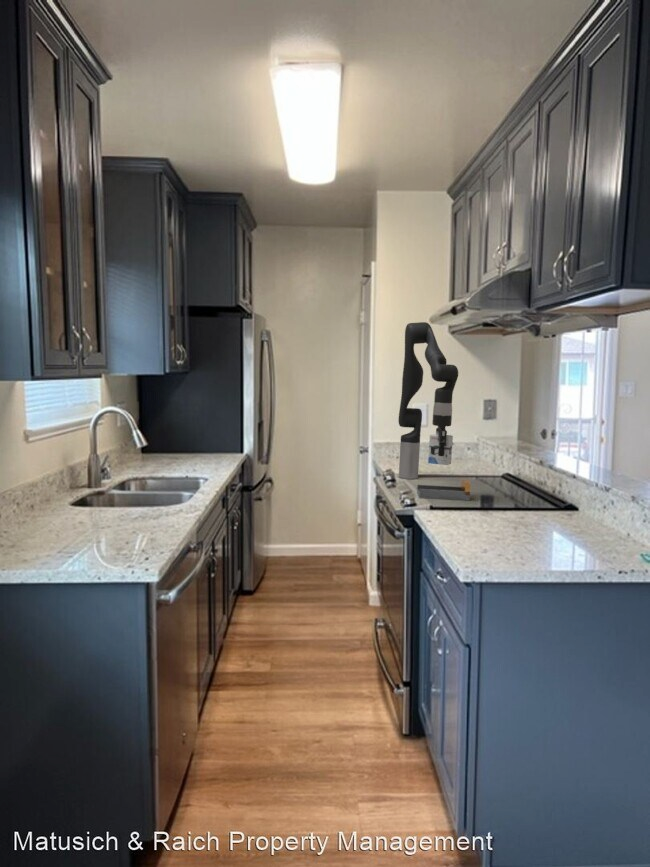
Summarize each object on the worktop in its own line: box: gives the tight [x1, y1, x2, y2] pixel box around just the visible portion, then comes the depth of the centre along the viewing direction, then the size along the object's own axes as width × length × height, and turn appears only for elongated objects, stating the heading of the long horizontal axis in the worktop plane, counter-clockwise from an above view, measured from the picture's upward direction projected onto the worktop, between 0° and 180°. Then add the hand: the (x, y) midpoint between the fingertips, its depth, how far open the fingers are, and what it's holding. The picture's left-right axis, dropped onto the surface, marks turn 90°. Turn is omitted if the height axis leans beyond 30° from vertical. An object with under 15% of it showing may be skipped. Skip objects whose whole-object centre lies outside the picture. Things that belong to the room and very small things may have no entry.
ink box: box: [427, 433, 454, 466], centre depth 243 cm, size 8×5×12 cm, turn 63°
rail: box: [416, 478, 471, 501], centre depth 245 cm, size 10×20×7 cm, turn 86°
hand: (439, 454), depth 244 cm, fingers closed on ink box, 6 cm apart
